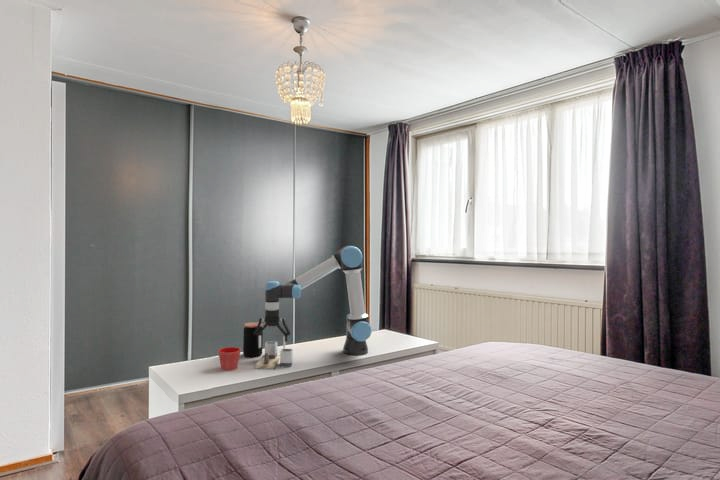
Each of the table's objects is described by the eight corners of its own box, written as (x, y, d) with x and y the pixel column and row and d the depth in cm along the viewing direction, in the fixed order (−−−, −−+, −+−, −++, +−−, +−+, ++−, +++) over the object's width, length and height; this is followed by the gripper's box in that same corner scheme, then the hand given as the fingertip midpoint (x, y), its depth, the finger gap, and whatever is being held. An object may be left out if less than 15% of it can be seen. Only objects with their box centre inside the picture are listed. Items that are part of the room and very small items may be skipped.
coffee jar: (266, 354, 246) (266, 323, 246) (254, 359, 236) (254, 326, 236) (251, 352, 251) (252, 321, 251) (239, 356, 241) (239, 324, 241)
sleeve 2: (292, 363, 230) (292, 348, 230) (291, 366, 224) (291, 351, 224) (281, 363, 230) (281, 348, 230) (279, 366, 224) (280, 351, 224)
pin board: (281, 358, 240) (281, 345, 240) (274, 368, 220) (274, 355, 220) (263, 357, 240) (263, 345, 240) (254, 368, 220) (255, 354, 220)
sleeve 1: (275, 358, 233) (275, 344, 233) (264, 358, 233) (264, 343, 233) (277, 355, 239) (277, 341, 239) (266, 355, 239) (267, 341, 238)
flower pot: (228, 373, 211) (228, 353, 211) (213, 369, 217) (214, 350, 217) (244, 368, 220) (245, 349, 220) (230, 364, 226) (230, 345, 226)
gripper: (295, 308, 239) (295, 345, 240) (251, 308, 239) (251, 345, 239) (293, 310, 232) (293, 349, 232) (248, 310, 232) (247, 349, 232)
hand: (272, 347), depth 236 cm, fingers open, 13 cm apart
